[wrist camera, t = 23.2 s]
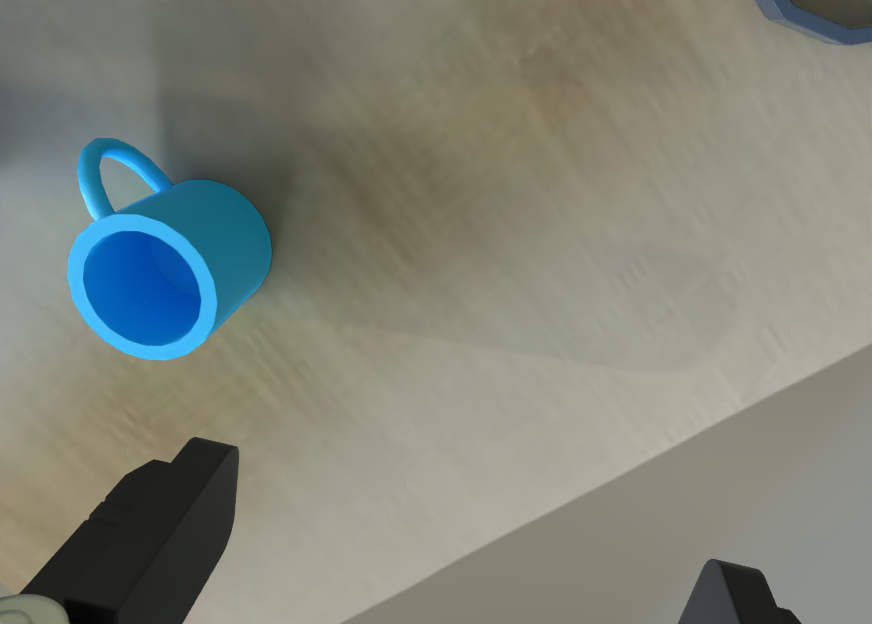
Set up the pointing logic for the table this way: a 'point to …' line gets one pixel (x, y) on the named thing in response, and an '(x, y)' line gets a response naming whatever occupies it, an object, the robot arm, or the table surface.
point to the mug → (163, 258)
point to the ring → (814, 23)
